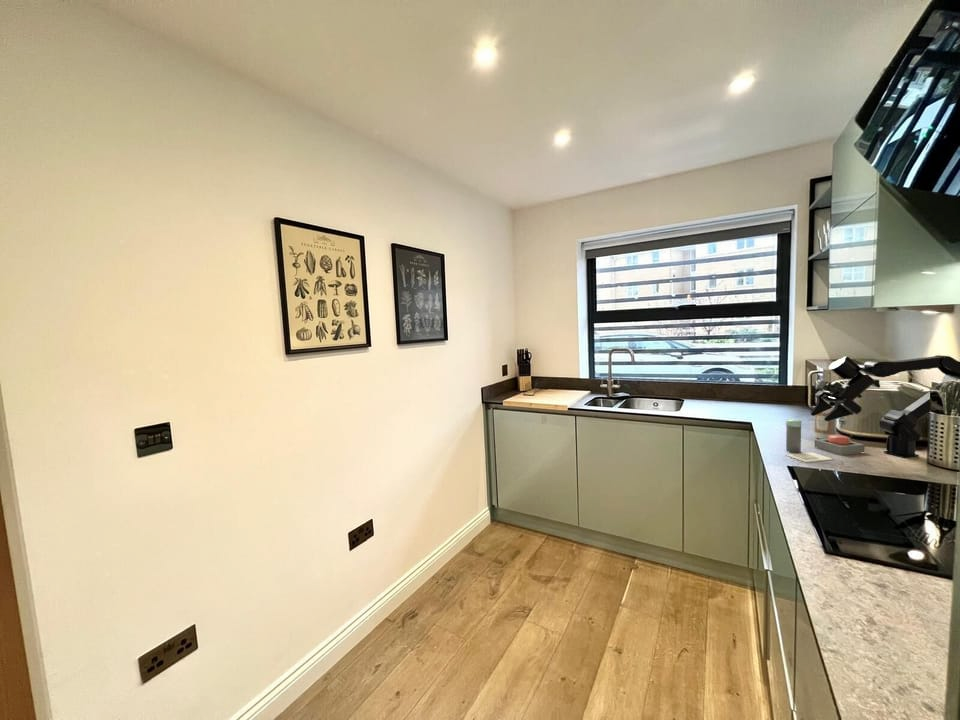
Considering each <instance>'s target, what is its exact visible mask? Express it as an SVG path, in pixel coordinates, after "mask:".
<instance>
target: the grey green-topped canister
mask: <svg viewBox="0 0 960 720" xmlns="http://www.w3.org/2000/svg"><path fill="white" fill-rule="evenodd" d="M785 427H786V429H785V430H786V432H785V433H786V434H785V435H786V438H785V440H786V441H785V443H786V444H785V447H786V448H785V451H786V450H787V451H786V452H788V451H789V452H788V453H791V452H796V453H795V454H799V453H800V452H801V451H802V444H801V443H802V420H799V419H792V418H791V419H790V418H789V419H786V420H785Z"/></svg>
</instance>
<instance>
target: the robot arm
mask: <svg viewBox="0 0 960 720" xmlns="http://www.w3.org/2000/svg"><path fill="white" fill-rule="evenodd" d="M828 369H829V370H830V371H831V372H832V373H834V374H835V375H836V376H838V378H841V380H847V381H846V382H845V383H840V382H839V381H832V382H829V381H825V380H820V382H819V384H818V385H817V387H816V388H817V389H820V390H818V391H817V392H816V393H815V394H814V395H815V399H816V403H815V405H814V407H813V409H812V410H811V412H810V415H811V416H813V417H814V415H817V414H819V413H822V412H824V411H826V410H828V409H830V408H833V407H832V406H835V407H834V409H833V410H832V411H831V412H830V413H829V414H828V415H827V416H826V417H825V418H824V420H825V421H830V420H833V419H836V420H837V419H840V418H843V417H848V416H853V415H858V414H860V413H861V412H862V411H863V410H862V406H861V405H860V404H858V403H857V402H856V401H854V400H855V399H857V398H858V399H861V398H862V397H863V395H862V394H863V393H864V392H865V391H866V390H868V389H869V388H870V387H874V388H878V389H879V388H881V384H880V379H874V378H873V377H877V378H887V377H890V376H895V375H897V374H899V373H904V372H909V371H910V372H912V371H920V370H928V369H929V370H930V369H938V370H939V371H940V372H941V373H942V374H944V376H943V377H942V380H941V381H940V384H941V383H942V382H946V381H948V380H955V379H960V361H959V360H957V359H955V358H953V357H952V356H950V355H941V354H938V355H934V356H925V357H918V358H910V359H900V360H876V359H874V360H873V359H870V360H867V361H865V362H864V363H861V364H857V363H856V362H854V360H852V359H851V357H849V356H843V357H841V358H839V359H836V360H835V361H833V362H831V364H830V365H829V366H828ZM825 391H829V392H825ZM930 412H931V411H930V391H929V392H927V393H926V394H924V395H922V396H921V397H920V398H918V399H917V400H915V401H914V402H913V403H911V404H910V405H909V406H906V407H905V408H904V409H903V410H895V409H891V410H889V411H888V412H887V413H886V414H884V415H881V418H880V419H879V420H878V421H879V423H878V424H879V428H880V429H881V430H883V432H884V434H885V435H886V436H887V439H886V444H885V447H886V449H885V450H883V453H884V454H887V455H892V456H896V457H899V458H914V457H919V456H920V455H919V454H917V453H916V442H919V441H920V439H921V437H922V436H921V434H920V433H919V432H917V431H916V430H914V429H915V428H916V427H917V425H918V422H919V420H921V418H923V417H924V416H926V415H927V414H929V413H930Z"/></svg>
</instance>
